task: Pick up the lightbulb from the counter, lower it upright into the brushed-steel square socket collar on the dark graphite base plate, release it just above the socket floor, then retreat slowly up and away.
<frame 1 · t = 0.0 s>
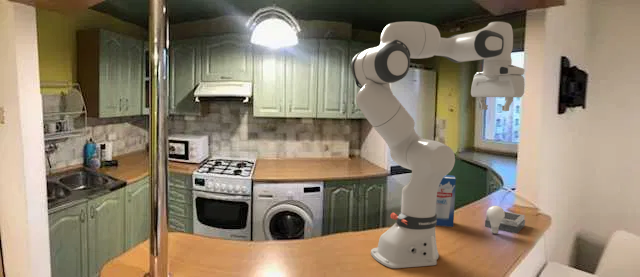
hand: (494, 110, 132), 48 cm above the countertop, tool pointing down, fingers open, 8 cm apart
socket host: (504, 226, 154), on the countertop
lightbulb: (494, 234, 146), on the countertop
milk carton: (440, 223, 157), on the countertop
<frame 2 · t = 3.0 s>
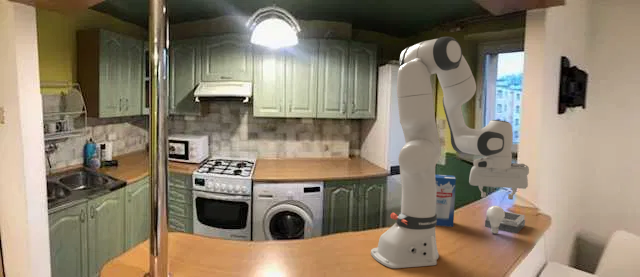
hand: (496, 198, 144), 14 cm above the countertop, tool pointing down, fingers open, 8 cm apart
nothing on the countertop moved.
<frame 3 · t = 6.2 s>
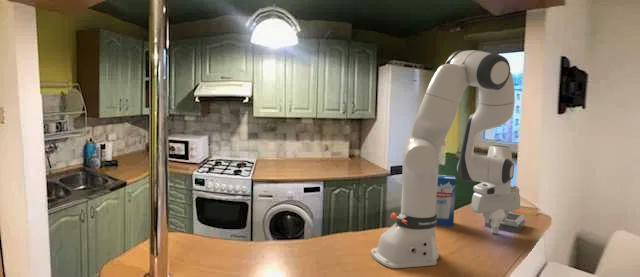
hand: (495, 222, 145), 5 cm above the countertop, tool pointing down, fingers closed on lightbulb, 5 cm apart
lightbulb: (494, 234, 146), on the countertop, touching gripper
everything else where it was.
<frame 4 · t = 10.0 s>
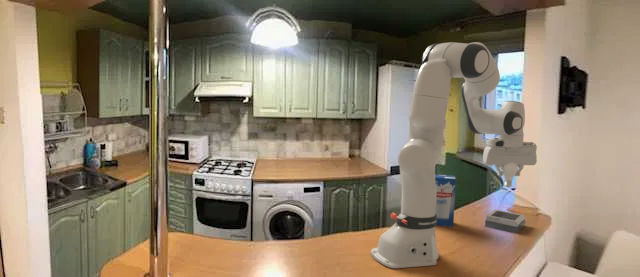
hand: (508, 175, 152), 21 cm above the countertop, tool pointing down, fingers closed on lightbulb, 5 cm apart
lightbulb: (507, 187, 152), point 16 cm above the countertop, touching gripper
everything else where it was.
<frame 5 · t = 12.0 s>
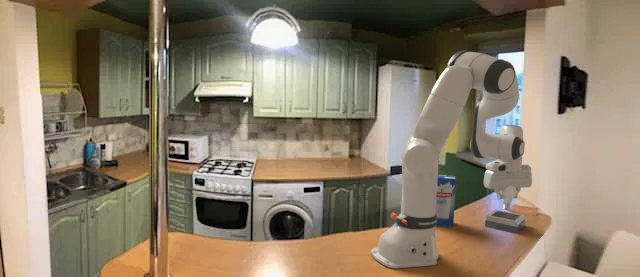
hand: (507, 198, 153), 12 cm above the countertop, tool pointing down, fingers closed on lightbulb, 5 cm apart
lightbulb: (506, 210, 153), point 7 cm above the countertop, touching gripper
everything else where it was.
when the fingers open (8 cm above the countertop, at t = 13.9 s): lightbulb moves 1 cm, resting on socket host.
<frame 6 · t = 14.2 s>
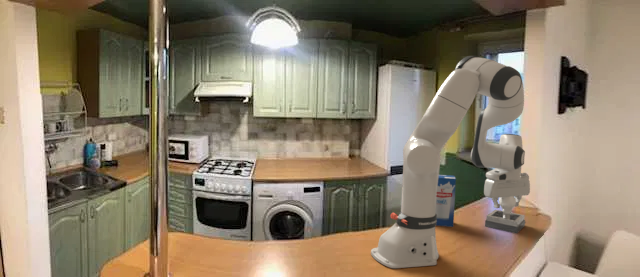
hand: (506, 206, 153), 8 cm above the countertop, tool pointing down, fingers open, 8 cm apart
lightbulb: (506, 220, 154), point 2 cm above the countertop, touching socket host
everything else where it was.
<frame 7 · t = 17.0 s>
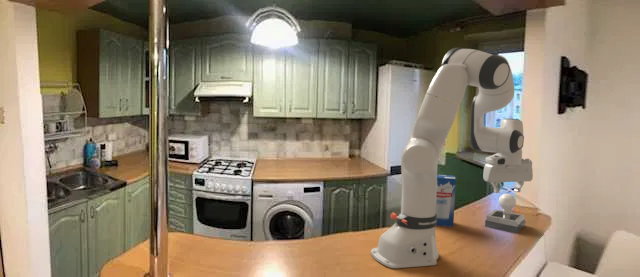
hand: (506, 192, 153), 14 cm above the countertop, tool pointing down, fingers open, 8 cm apart
nothing on the countertop moved.
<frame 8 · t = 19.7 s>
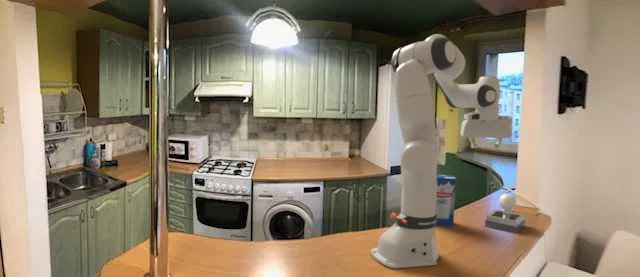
hand: (485, 148, 159), 31 cm above the countertop, tool pointing down, fingers open, 8 cm apart
nothing on the countertop moved.
at the end: lightbulb 0.5 cm off-centre on the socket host, point 2.3 cm above the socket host's base; lightbulb tilted 1°; the gripper is holding nothing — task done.
